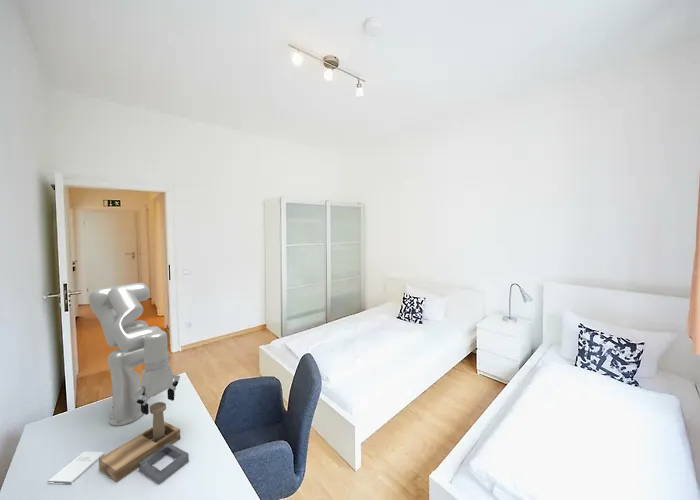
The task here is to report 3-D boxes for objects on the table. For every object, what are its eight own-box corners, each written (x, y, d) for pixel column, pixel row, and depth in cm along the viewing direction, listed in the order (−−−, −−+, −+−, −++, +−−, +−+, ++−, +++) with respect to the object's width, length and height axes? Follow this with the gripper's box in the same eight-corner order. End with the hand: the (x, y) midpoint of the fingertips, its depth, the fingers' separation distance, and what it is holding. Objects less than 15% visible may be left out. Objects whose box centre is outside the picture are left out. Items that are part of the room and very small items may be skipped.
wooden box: (99, 469, 100) (98, 458, 100) (163, 429, 120) (163, 420, 119) (116, 482, 95) (116, 470, 95) (180, 438, 115) (180, 429, 115)
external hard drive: (47, 485, 94) (83, 455, 107) (71, 486, 94) (104, 455, 107) (46, 480, 94) (82, 451, 107) (71, 481, 94) (104, 451, 106)
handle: (157, 449, 109) (155, 412, 108) (148, 443, 112) (146, 407, 111) (170, 441, 114) (169, 405, 112) (161, 435, 117) (159, 400, 115)
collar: (138, 470, 100) (138, 462, 99) (168, 450, 109) (168, 442, 109) (159, 484, 95) (158, 475, 95) (188, 461, 104) (188, 453, 104)
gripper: (172, 353, 120) (174, 392, 121) (125, 371, 104) (128, 416, 105) (184, 356, 116) (185, 397, 118) (137, 376, 101) (140, 422, 102)
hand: (158, 406), depth 111 cm, fingers open, 9 cm apart
